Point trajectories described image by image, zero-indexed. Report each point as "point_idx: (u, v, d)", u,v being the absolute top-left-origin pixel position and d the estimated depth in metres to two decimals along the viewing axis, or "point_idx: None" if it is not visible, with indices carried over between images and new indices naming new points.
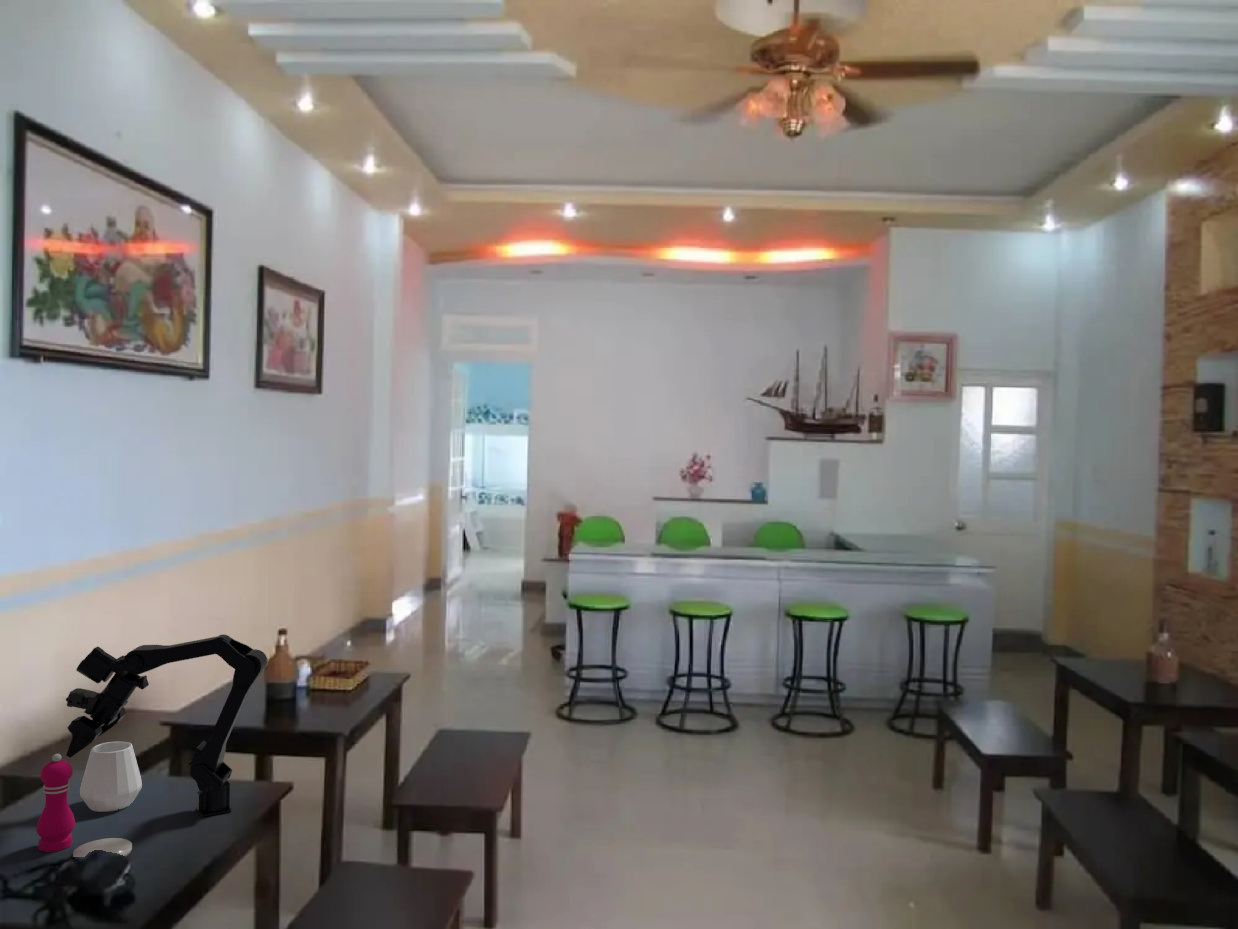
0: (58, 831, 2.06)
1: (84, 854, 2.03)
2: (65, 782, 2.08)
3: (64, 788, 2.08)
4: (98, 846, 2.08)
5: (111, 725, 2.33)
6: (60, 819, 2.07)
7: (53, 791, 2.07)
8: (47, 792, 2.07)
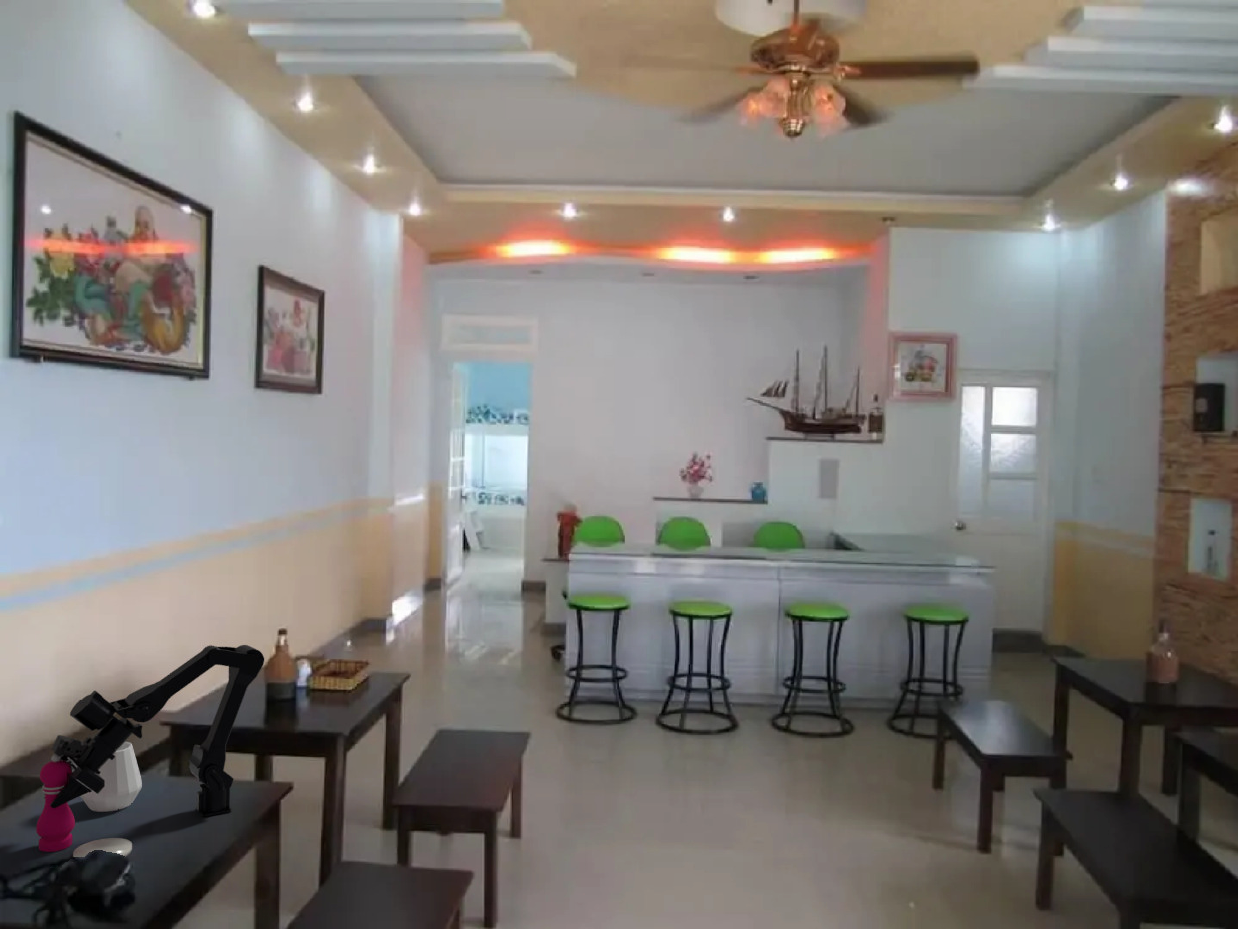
0: (58, 831, 2.06)
1: (84, 854, 2.03)
2: (64, 782, 2.08)
3: None
4: (98, 846, 2.08)
5: None
6: (60, 819, 2.07)
7: (52, 791, 2.06)
8: (47, 792, 2.06)
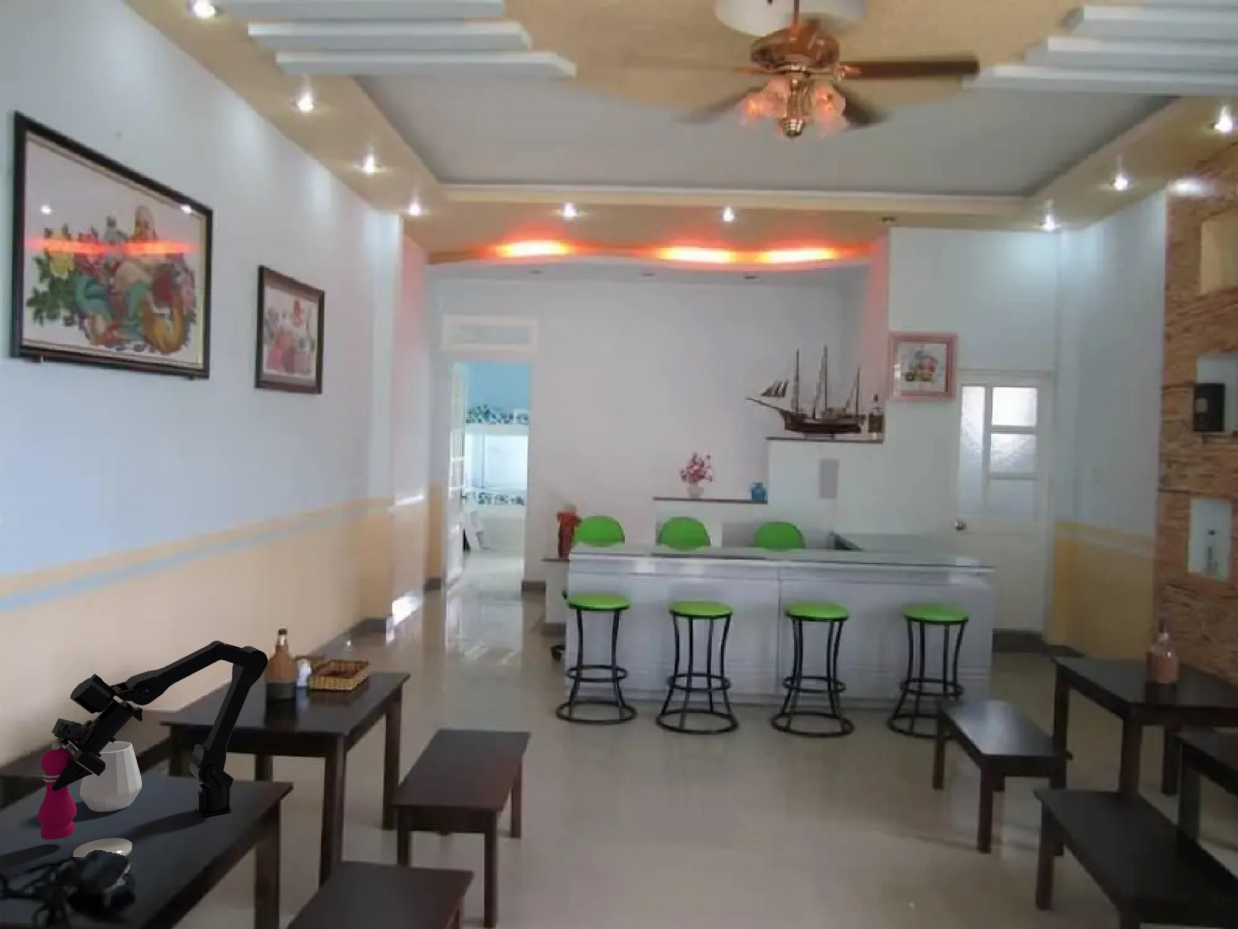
0: (59, 818, 2.06)
1: (84, 854, 2.03)
2: None
3: None
4: (98, 846, 2.08)
5: None
6: (61, 807, 2.07)
7: (53, 779, 2.07)
8: (47, 780, 2.07)
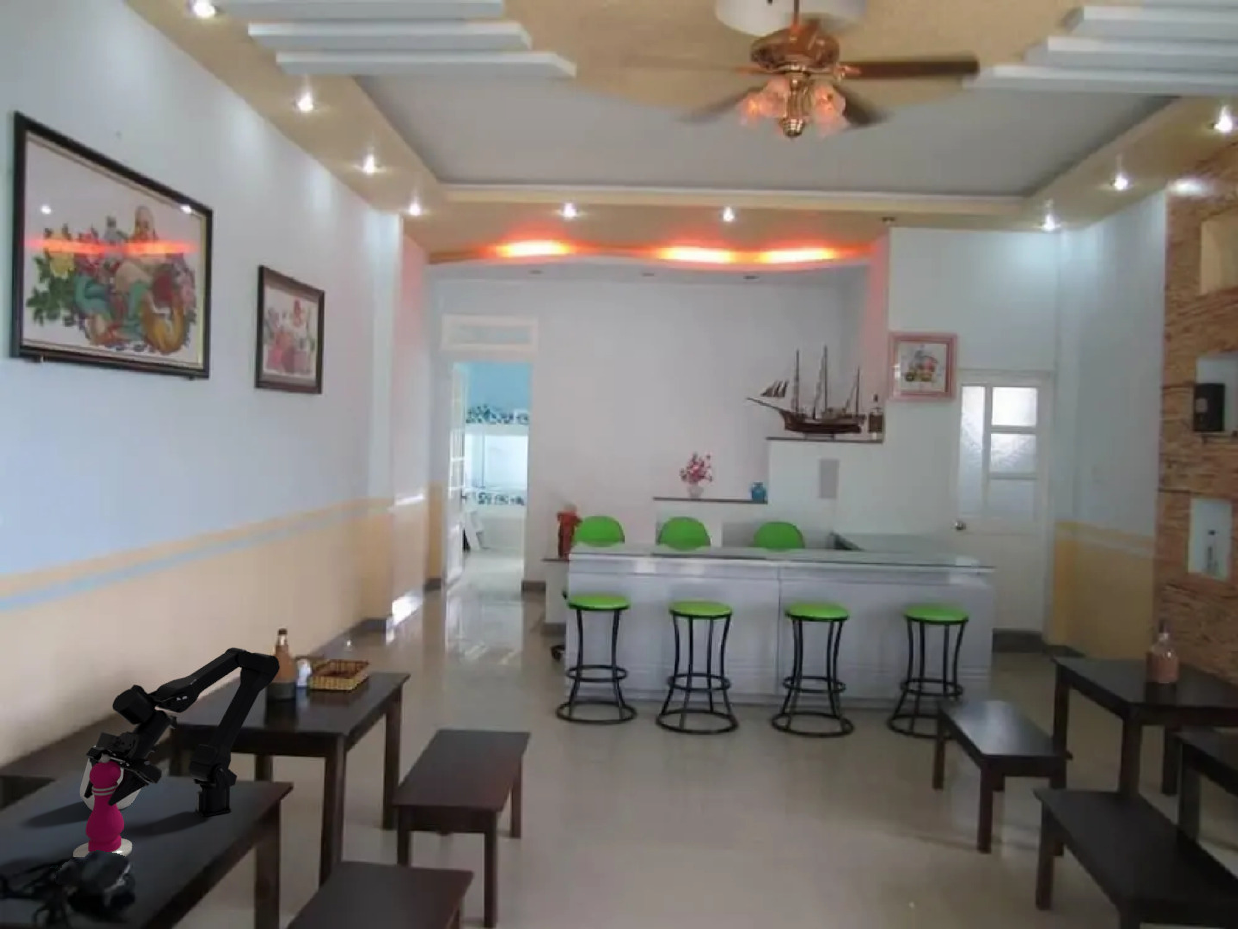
0: (114, 831, 2.05)
1: (84, 854, 2.03)
2: (116, 782, 2.07)
3: None
4: None
5: None
6: (115, 819, 2.05)
7: (106, 792, 2.04)
8: (100, 793, 2.04)
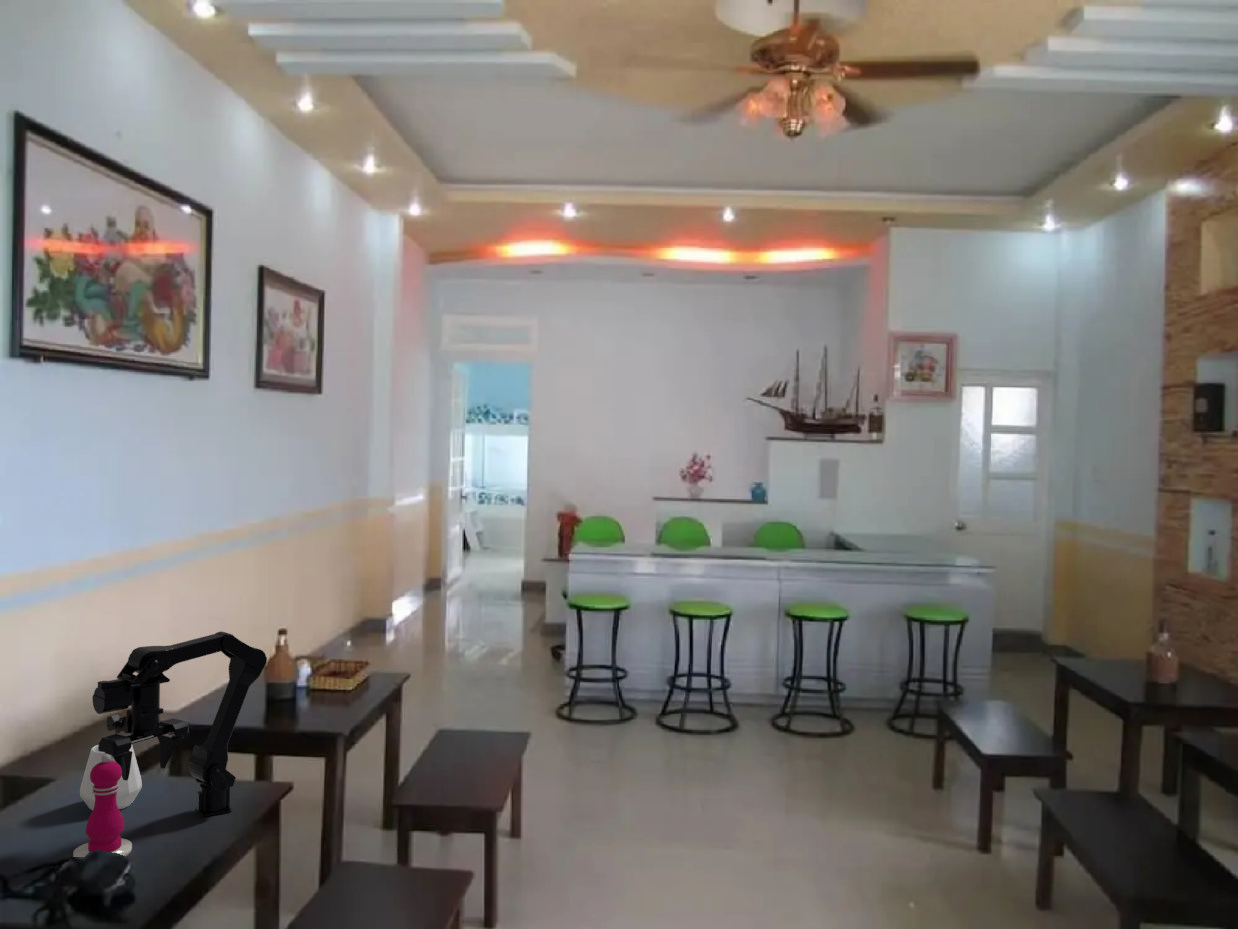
0: (114, 831, 2.05)
1: (84, 854, 2.03)
2: (117, 782, 2.07)
3: (116, 788, 2.06)
4: None
5: (172, 740, 2.21)
6: (115, 819, 2.05)
7: (107, 792, 2.04)
8: (101, 793, 2.04)
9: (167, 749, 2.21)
